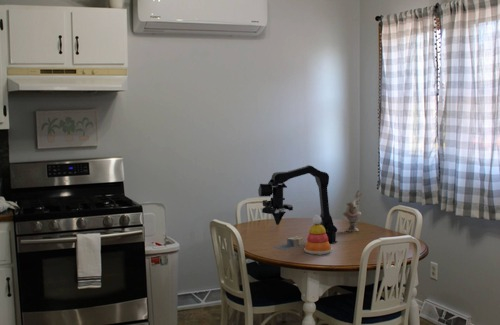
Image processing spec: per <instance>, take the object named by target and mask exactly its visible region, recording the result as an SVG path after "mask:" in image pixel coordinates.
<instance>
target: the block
mask: <svg viewBox="0 0 500 325" xmlns="http://www.w3.org/2000/svg"><path fill="white" fill-rule="evenodd" d="M304 241H305V239H304V237H301V236H293V237H288V238H287V239H286V244H287V245H289V246H298V245H302V244H304V243H305V242H304Z"/></svg>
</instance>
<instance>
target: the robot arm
mask: <svg viewBox="0 0 500 325" xmlns="http://www.w3.org/2000/svg"><path fill="white" fill-rule="evenodd" d="M308 174H309V175H311V176H312V177H314V179H315V183H316V185H317V187H318V193H319V195H318V196H319V203H320V204H319V205H320V215H319V216H320V217H321V220H322V221H321V223H320V225H322V226H323V227H324V228H325V230H326V234H327V236H328V242H329V243H330V245H331V244H332V245H333V244H335V243H336V244H337V243H338V241H337V239H336V237H337V236H336V234H337V232H338V228H337V227H336V226H335V225H334V221H333V218H332V215H331V213H330V204H329V196H328V195H329V192H328V186H329V182H330V175H329V173H327V172H326V171H322V170H319V169H318V168H315V167H314V166H313V165H309V164H308V165H306V166H302V167H299V168H295V169H292V170H291V169H290V170H288V171H279V172H278V171H277V172H274V173H272V175H271V178H270V180H268V182H267V183H260V184H259V187H258V189H257V191H258V196H259V197H270V200H267V199H264V200H262V206H263V207H262V209H261V213H263V214H268V215H272V217H273V219H274V221H275V224H276V226H278V225H280V223H281V221H282V219H283V217H284V215H285V214H286V213H287V211H285V210H288V211H293V210H294V207H293V205H292V204H288V203H284V201H285V199H286V198H285V197H284V189H286V188H288V186H287V185H286V184H285V182H287V181H290V180H291V179H294V178H297V177H302V176H304V175H308ZM271 196H272V197H271Z"/></svg>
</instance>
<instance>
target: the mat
mask: <svg viewBox="0 0 500 325" xmlns="http://www.w3.org/2000/svg"><path fill="white" fill-rule="evenodd" d="M306 243H307V242H304V244H302V245H298V246H289V245H287V243H284V244H278V245H275V246H272V248H274V249H277V250H278V249H279V250H282V251H288V250H289V251H290V250H293V249H296V248H302V247H304V246H306Z"/></svg>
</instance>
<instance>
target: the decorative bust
mask: <svg viewBox="0 0 500 325" xmlns="http://www.w3.org/2000/svg"><path fill="white" fill-rule="evenodd" d="M359 193H360V190H357V191H356V193H355V195H354V200H353V201H352V200H350V201H349V202H346V209H345V211H344V212H343V213H342V215H343V216H344V217H346V218H347V220H348V224H349V227H347V228H346V231H347V232H349V231H357V232H359V231H360V230H359V228H357V227H356V224H357V222H358V221H359V219H360V216H362V212H361V211H359V208H358V205H359V202H360V201H361V200H360V199H358V198H359V197H361V196H362V194H363V193H362V192H361V193H360V194H359Z"/></svg>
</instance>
